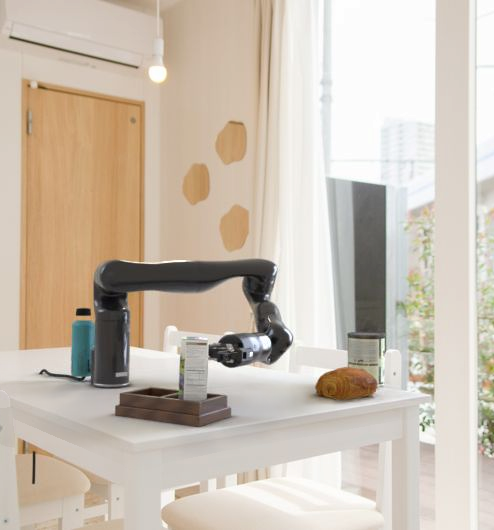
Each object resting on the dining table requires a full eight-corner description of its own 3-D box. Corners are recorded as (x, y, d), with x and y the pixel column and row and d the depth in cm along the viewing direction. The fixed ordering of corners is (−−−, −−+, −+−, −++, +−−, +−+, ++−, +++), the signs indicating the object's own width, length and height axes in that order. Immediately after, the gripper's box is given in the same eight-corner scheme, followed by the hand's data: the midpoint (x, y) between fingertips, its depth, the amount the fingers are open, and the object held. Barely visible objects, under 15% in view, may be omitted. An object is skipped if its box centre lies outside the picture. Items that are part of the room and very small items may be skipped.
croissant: (386, 405, 172) (390, 373, 173) (341, 402, 163) (346, 368, 163) (345, 395, 184) (349, 365, 184) (301, 392, 174) (305, 360, 175)
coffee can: (342, 381, 196) (343, 331, 196) (378, 381, 198) (378, 331, 198) (352, 387, 186) (353, 334, 186) (389, 387, 187) (390, 334, 188)
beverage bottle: (88, 382, 188) (89, 308, 188) (65, 381, 189) (67, 308, 189) (98, 379, 194) (100, 307, 194) (76, 378, 195) (77, 307, 196)
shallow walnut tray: (114, 415, 145) (115, 393, 145) (150, 406, 155) (150, 385, 155) (199, 426, 135) (199, 403, 135) (231, 416, 145) (231, 394, 145)
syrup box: (178, 405, 145) (180, 336, 146) (207, 405, 146) (208, 336, 146) (178, 411, 140) (179, 338, 140) (207, 411, 140) (208, 338, 140)
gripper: (267, 368, 156) (229, 376, 142) (213, 363, 163) (172, 371, 149) (267, 334, 156) (230, 339, 142) (214, 331, 163) (173, 336, 149)
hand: (200, 355), depth 146 cm, fingers open, 8 cm apart
